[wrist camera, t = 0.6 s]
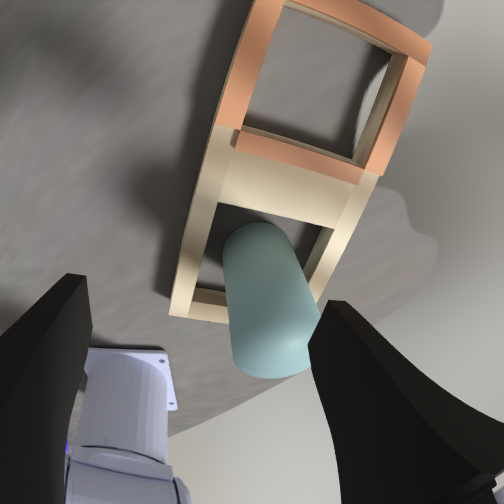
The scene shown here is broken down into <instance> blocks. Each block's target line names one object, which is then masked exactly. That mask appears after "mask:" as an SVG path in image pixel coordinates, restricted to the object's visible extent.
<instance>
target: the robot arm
mask: <svg viewBox="0 0 504 504" xmlns="http://www.w3.org/2000/svg"><path fill="white" fill-rule="evenodd" d="M92 328H93V326H92V319H91V312H90V305H89V297H88V288H87V279H86V276H84V275H77V274H70V273H67V274H65V275H64V276H63V277H62V278H61V279H60V280H59V281H58V282H57V283H56V284H54V285H53V286H52V287H51V288H50V289H49V290H48V291H47V292H46V293H45V294H44V295H43V296H42V297H41V298H40V299H39V300H38V301H37V302H36V303H35V304H34V305H33V306H32V307H31V308H30V309H29V310H28V311H27V312H26V313H25V314H24V315H22V316H21V317H20V318H19V319H18V320H17V321H16V322H15V323H14V324H13V325H12V326H11V327H10V328H9V329H8V330H6V331H5V332H4V333H3V334H2V335H1V336H0V504H192V500H191V496H190V492H189V490H188V488H187V487H186V486H185V484H184V483H183V481H182V480H181V479H180V478H178V477H173V467H172V466H169V465H166V461H167V416H168V410H177V401H176V396H175V391H174V387H173V382H172V376H171V371H170V366H169V361H168V355H167V353H166V352H165V351H163V350H130V349H107V348H90V347H89V344H90V339H91V333H92ZM307 346H308V352H309V359H310V364H311V370H312V373H313V377H314V381H315V384H316V387H317V390H318V393H319V397H320V400H321V403H322V406H323V409H324V412H325V415H326V418H327V421H328V425H329V428H330V432H331V435H332V439H333V444H334V449H335V455H336V460H337V466H338V474H339V482H340V491H341V504H504V486H503V487H501V488H500V489H499V490H497V491H495V492H494V493H493V491H492V488H494V487H495V486H496V485H497V484H496V481H495V478H496V477H497V476H499V475H500V474H502V473H503V472H504V423H502V422H500V421H497V420H495V419H493V418H491V417H489V416H487V415H485V414H483V413H481V412H479V411H477V410H476V409H474V408H472V407H470V406H469V405H467V404H465V403H464V402H462V401H461V400H459V399H458V398H456V397H454V396H453V395H451V394H450V393H449V392H447V391H446V390H444V389H443V388H441V387H440V386H439V385H437V384H436V383H435V382H434V381H432V380H431V379H430V378H428V377H427V376H426V375H425V374H424V373H422V372H421V371H420V370H419V369H418V368H416V367H415V366H414V365H413V364H412V363H411V362H410V361H408V360H407V359H406V358H405V357H404V356H403V355H402V354H401V353H400V352H399V351H398V350H396V349H395V348H394V347H393V346H392V345H391V344H390V343H389V342H388V341H387V340H386V339H385V338H384V337H383V336H382V335H381V334H380V333H379V332H378V331H377V330H376V329H375V328H374V327H373V326H372V325H371V324H370V323H369V322H368V321H367V320H366V319H365V318H364V317H363V316H362V315H360V314H359V313H358V312H357V311H356V310H355V309H354V308H353V307H352V306H351V305H350V304H348V303H347V302H346V301H337V300H328V302H327V304H326V307H325V309H324V311H323V313H322V315H321V317H320V319H319V321H318V324H317V326H316V328H315V330H314V332H313V334H312V336H311V338H310V340H309V342H308V344H307ZM83 369H84V370H85V372H86V374H87V376H88V380H87V385H86V389H85V394H84V399H83V404H82V409H81V414H80V420H79V425H78V431H77V437H76V444H75V445H73V449H72V456H71V459H70V455H69V454H66V443H67V433H68V427H69V422H70V417H71V413H72V409H73V405H74V401H75V398H76V394H77V390H78V387H79V383H80V380H81V376H82V373H83Z"/></svg>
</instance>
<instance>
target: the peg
mask: <svg viewBox="0 0 504 504" xmlns="http://www.w3.org/2000/svg"><path fill="white" fill-rule="evenodd" d="M222 260H223V270H224V280H225V290H226V299H227V309H228V318H229V327H230V336H231V345H232V353H233V359H234V362H235V364H236V366H237V367H238V368H239V369H240V370H241V371H243V372H244V373H246V374H248V375H251V376H254V377H258V378H267V379H273V378H282V377H287V376H291V375H294V374H297V373H299V372H301V371H304V370H305V369H307V368H309V367H310V366H311V364H310V359H309V352H308V346H307V344H308V342H309V340H310V338H311V336H312V334H313V332H314V330H315V328H316V326H317V324H318V321H319V319H320V317H321V315H320V312H319V310H318V307H317V305H316V302H315V300H314V298H313V295H312V293H311V290H310V288H309V286H308V283H307V281H306V278H305V276H304V274H303V271H302V269H301V267H300V264H299V262H298V260H297V257H296V255H295V253H294V250H293V248H292V246H291V243H290V241H289V239H288V237H287V235H286V234H285V233H284V231H282V230H281V229H280V228H279V227H277V226H275V225H273V224H269V223H265V222H255V223H249V224H246V225H243V226H241V227H239V228H238V229H236V230H235V231H233V232H232V233H231V234H230V235H229V237H228V238H227V239H226V241H225V243H224V245H223V249H222Z"/></svg>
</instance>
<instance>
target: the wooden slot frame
mask: <svg viewBox="0 0 504 504" xmlns="http://www.w3.org/2000/svg"><path fill="white" fill-rule="evenodd" d="M283 6H284V7H287V8H290V9H293V10H295V11H298V12H301V13H303V14H306V15H309V16H311V17H314V18H316V19H319V20H321V21H323V22H326V23H328V24H331V25H333V26H335V27H337V28H340V29H342V30H344V31H346V32H348V33H350V34H353V35H355V36H357V37H359V38H361V39H363V40H365V41H367V42H369V43H371V44H373V45H374V46H376V47H378V48H380V49H382V50H384V51H386V52H387V53H389V54H391V55H392V56H391V59H390V61H389V64H388V67H387V70H386V73H385V76H384V78H383V81H382V83H381V86H380V89H379V91H378V94H377V97H376V100H375V102H374V105H373V107H372V110H371V113H370V115H369V117H368V120H367V123H366V125H365V128H364V130H363V133H362V135H361V138H360V140H359V143H358V145H357V148H356V150H355V152H354V155H353V157H352V159H349V158H346V157H343V156H341V155H338V154H335V153H332V152H329V151H326V150H324V149H321V148H318V147H315V146H312V145H309V144H305V143H302V142H299V141H296V140H293V139H290V138H286V137H283V136H280V135H276V134H273V133H270V132H266V131H263V130H259V129H256V128H252V127H248V126H245V125H242V123H243V120H244V117H245V114H246V111H247V108H248V105H249V102H250V99H251V96H252V93H253V90H254V87H255V84H256V81H257V78H258V75H259V72H260V69H261V66H262V63H263V60H264V57H265V54H266V51H267V48H268V46H269V43H270V40H271V37H272V34H273V32H274V29H275V26H276V23H277V21H278V18H279V15H280V12H281V10H282V7H283ZM432 46H433V45H432V44H431V43H429V42H428V41H426V40H425V39H423V38H422V37H420V36H419V35H417V34H416V33H414V32H413V31H411V30H410V29H408V28H406V27H405V26H403V25H401V24H400V23H398V22H396V21H395V20H393V19H391V18H390V17H388V16H386V15H384V14H383V13H381V12H379V11H377V10H375V9H374V8H372V7H370V6H368V5H366V4H364V3H362V2H360V1H358V0H253V2H252V4H251V7H250V10H249V12H248V15H247V18H246V21H245V24H244V26H243V29H242V32H241V35H240V38H239V41H238V44H237V46H236V49H235V52H234V55H233V58H232V61H231V64H230V68H229V71H228V74H227V77H226V80H225V83H224V86H223V90H222V93H221V96H220V99H219V103H218V106H217V109H216V113H215V116H214V119H213V123H212V126H211V130H210V133H209V137H208V140H207V144H206V148H205V151H204V155H203V159H202V162H201V166H200V170H199V174H198V178H197V182H196V186H195V189H194V193H193V197H192V202H191V206H190V210H189V214H188V218H187V222H186V227H185V231H184V235H183V240H182V244H181V249H180V253H179V258H178V263H177V268H176V272H175V277H174V282H173V287H172V292H171V297H170V305H169V315H173V316H179V317H185V318H192V319H198V320H205V321H212V322H219V323H226V324H229V318H228V309H227V299H226V292H222V291H216V290H209V289H203V288H198V287H195V284H196V280H197V276H198V273H199V269H200V265H201V261H202V257H203V254H204V250H205V246H206V243H207V239H208V235H209V232H210V228H211V224H212V221H213V217H214V214H215V210H216V207H217V203H218V202H221V203H226V204H231V205H235V206H240V207H244V208H249V209H253V210H257V211H262V212H266V213H270V214H275V215H279V216H283V217H287V218H292V219H296V220H300V221H304V222H308V223H312V224H316V225H320V226H323V227H322V229H321V231H320V234H319V236H318V238H317V240H316V243H315V245H314V247H313V249H312V251H311V253H310V256H309V258H308V260H307V262H306V264H305V266H304V268H303V274H304V276H305V278H306V281H307V283H308V286H309V288H310V290H311V293H312V295H313V298H314V300H315V302H316V303H317V301H318V299H319V297H320V295H321V293H322V291H323V290H324V288H325V286H326V284H327V282H328V280H329V278H330V276H331V274H332V273H333V271H334V269H335V267H336V265H337V263H338V261H339V259H340V257H341V255H342V253H343V251H344V249H345V247H346V245H347V243H348V241H349V239H350V237H351V235H352V233H353V231H354V229H355V227H356V225H357V223H358V221H359V218H360V216H361V214H362V212H363V210H364V208H365V206H366V204H367V201H368V199H369V197H370V195H371V193H372V191H373V188H374V186H375V184H376V182H377V179H378V177H379V175H380V176H382V175H383V173H384V171H385V168H386V166H387V164H388V162H389V159H390V157H391V155H392V153H393V150H394V148H395V145H396V143H397V141H398V138H399V136H400V133H401V131H402V128H403V126H404V123H405V121H406V118H407V116H408V113H409V110H410V108H411V106H412V103H413V100H414V98H415V95H416V92H417V89H418V87H419V84H420V81H421V78H422V76H423V73H424V70H425V67H426V64H427V61H428V59H429V56H430V53H431V50H432Z"/></svg>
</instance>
